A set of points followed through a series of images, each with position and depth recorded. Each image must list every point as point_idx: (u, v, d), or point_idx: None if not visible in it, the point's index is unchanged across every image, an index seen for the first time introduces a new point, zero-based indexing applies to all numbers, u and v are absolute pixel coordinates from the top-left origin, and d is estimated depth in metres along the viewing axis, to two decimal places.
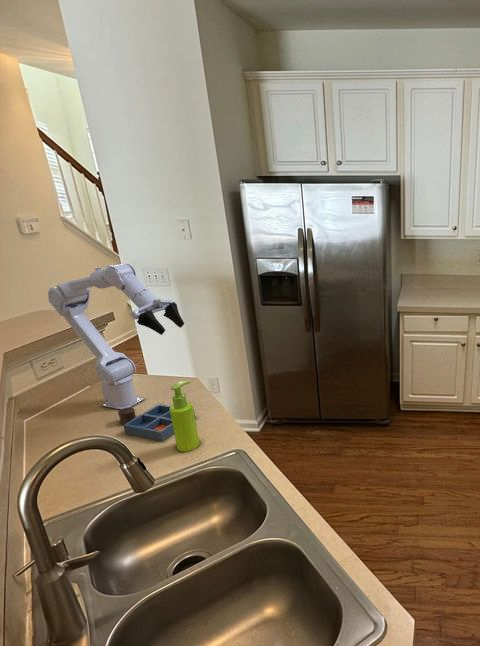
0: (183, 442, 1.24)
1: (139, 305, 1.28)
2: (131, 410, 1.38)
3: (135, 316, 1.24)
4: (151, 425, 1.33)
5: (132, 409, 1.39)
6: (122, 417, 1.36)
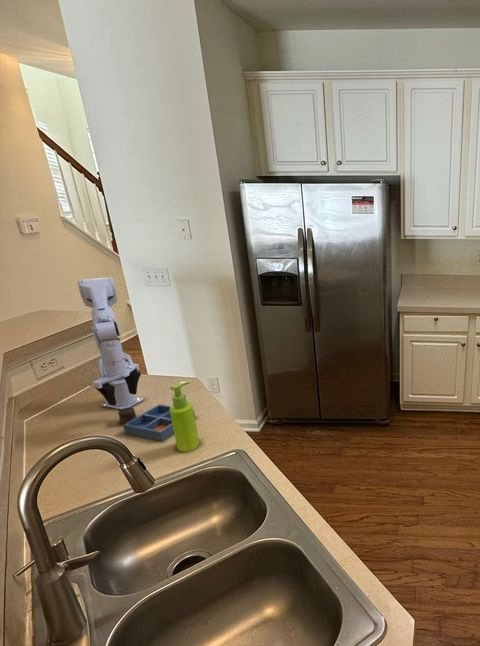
0: (183, 442, 1.24)
1: (106, 371, 1.30)
2: (131, 410, 1.38)
3: (97, 387, 1.27)
4: (151, 425, 1.33)
5: (132, 409, 1.39)
6: (122, 417, 1.36)
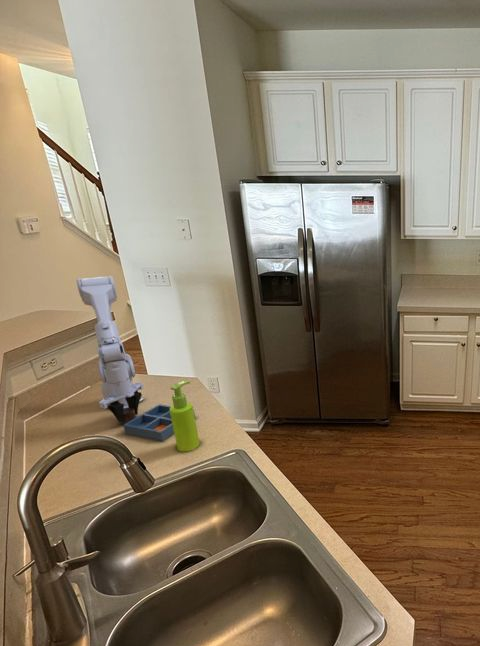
0: (183, 442, 1.24)
1: (111, 391, 1.32)
2: (131, 410, 1.38)
3: (102, 407, 1.30)
4: (151, 425, 1.33)
5: (132, 409, 1.39)
6: None
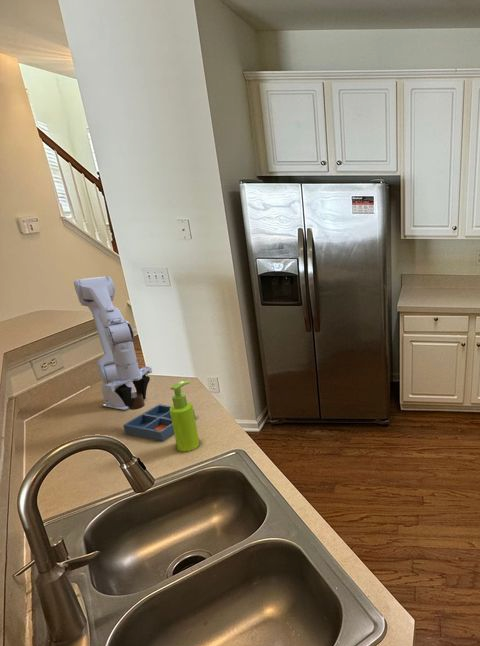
0: (183, 442, 1.24)
1: (119, 374, 1.28)
2: (139, 394, 1.33)
3: (109, 390, 1.25)
4: (151, 425, 1.33)
5: (140, 393, 1.34)
6: None
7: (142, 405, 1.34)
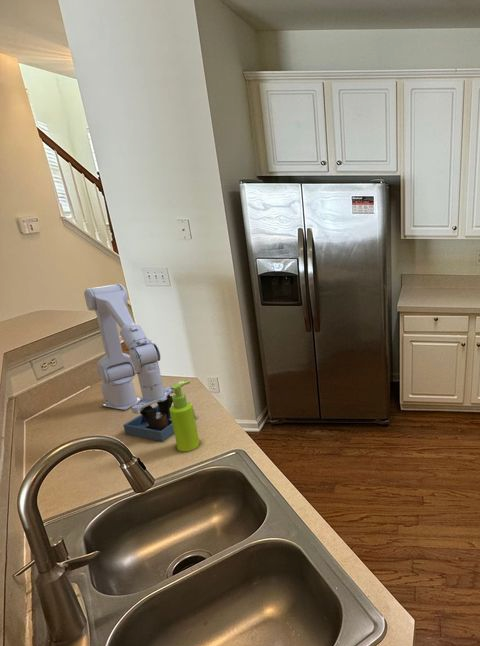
0: (183, 442, 1.24)
1: (144, 395, 1.26)
2: (163, 415, 1.32)
3: (135, 412, 1.23)
4: None
5: (164, 414, 1.32)
6: None
7: (166, 425, 1.32)
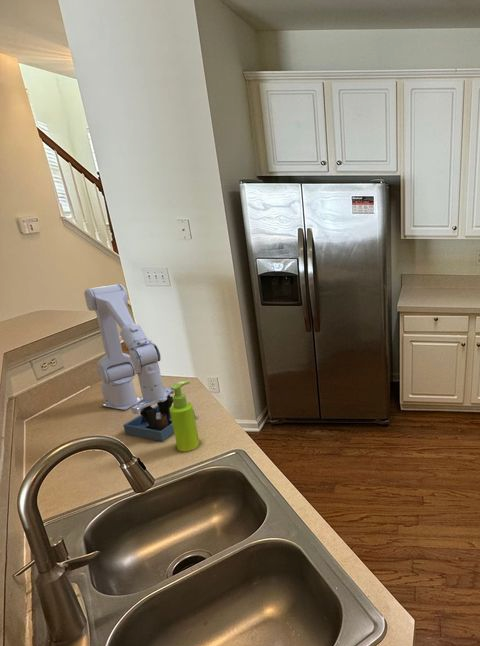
0: (183, 442, 1.24)
1: (144, 395, 1.26)
2: (164, 415, 1.32)
3: (135, 413, 1.23)
4: None
5: (164, 414, 1.32)
6: None
7: (166, 426, 1.32)
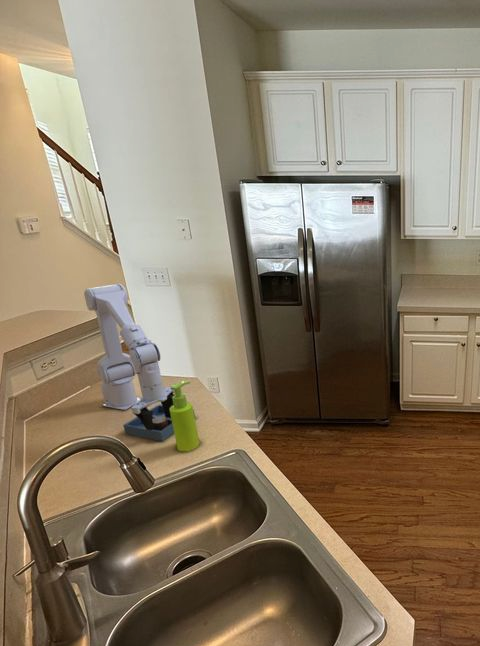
0: (183, 442, 1.24)
1: (144, 395, 1.26)
2: (164, 419, 1.32)
3: (135, 412, 1.23)
4: None
5: (165, 418, 1.33)
6: (155, 426, 1.30)
7: None
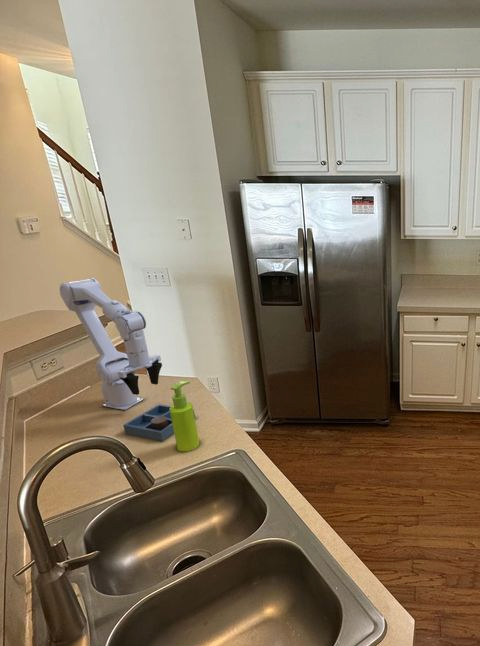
0: (183, 442, 1.24)
1: (130, 361, 1.34)
2: (164, 419, 1.32)
3: (121, 376, 1.31)
4: (151, 425, 1.33)
5: (165, 418, 1.33)
6: (155, 426, 1.30)
7: None
